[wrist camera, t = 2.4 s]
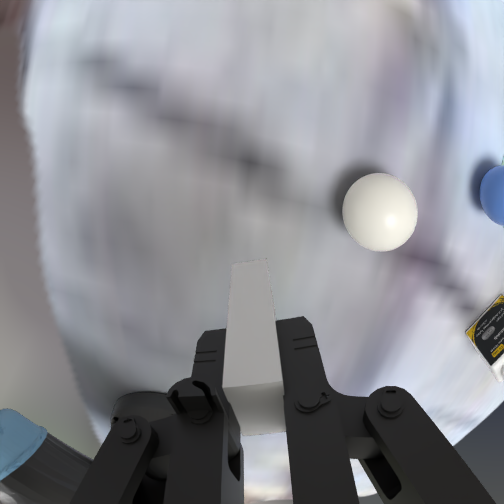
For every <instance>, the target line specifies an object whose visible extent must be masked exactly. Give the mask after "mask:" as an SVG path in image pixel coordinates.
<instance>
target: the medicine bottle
mask: <svg viewBox="0 0 504 504" xmlns="http://www.w3.org/2000/svg"><path fill="white" fill-rule="evenodd" d="M466 335H467V336H468V338H469V340H470V341H471V343H472V344H473V346H474V348H475V349H476V351H477V353H478V354H479V355H480V357H481V358H482V359H483V361H484V362H485V364H486V365H487V366H488V368H489V369H490V371H491V372H492V373H493V375H494V376H495V378H496V379H497V381H498V382H502V381H503V380H504V296H503V295H500V296H499V297H498V298H497V299H496V300H495V301H494V302H493V303H492V305H491V306H490V307H489V308H488V309H487V310H486V311H485V312H484V313H483V314H482V315H481V316H480V318H479V319H478V320H477V321H476V322H475V323H474V324H473V325H472V326H471V327H470V328H469V329H468V330H467V331H466Z"/></svg>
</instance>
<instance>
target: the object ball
mask: <svg viewBox="0 0 504 504" xmlns="http://www.w3.org/2000/svg"><path fill="white" fill-rule="evenodd" d="M480 201H481V205H482V207H483V209H484V211H485V213H486V214H487V216H488V217H489V218H490V219H491V220H492V221H493V222H495V223H497V224H499V225H502V226H504V165H501V166H496V167H494V168H492V169H490V170H489V171H488V172H487V173H486V174H485V176H484V177H483V179H482V182H481V185H480Z"/></svg>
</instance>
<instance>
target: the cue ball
mask: <svg viewBox="0 0 504 504" xmlns="http://www.w3.org/2000/svg"><path fill="white" fill-rule="evenodd" d="M342 214H343V220H344V224H345V227H346V229H347V231H348V233H349V234H350V236H351V237H352V238H353V239H354V240H355V241H356V242H357V243H358V244H360V245H361V246H363V247H365V248H367V249H369V250H373V251H389V250H393V249H395V248H397V247H399V246H401V245H402V244H404V243H405V242H406V241H407V240H408V239H409V238H410V236H411V235H412V233H413V231H414V229H415V226H416V223H417V216H418V210H417V204H416V200H415V198H414V195H413V194H412V192H411V190H410V189H409V188H408V186H407V185H406V184H405V183H404V182H403V181H401V180H400V179H398V178H397V177H394V176H392V175H389V174H385V173H373V174H369V175H366V176H364V177H362V178H360V179H358V180H357V181H356V182H355V183H354V184H353V185H352V186H351V187H350V188H349V190H348V192H347V193H346V196H345V198H344V202H343V209H342Z"/></svg>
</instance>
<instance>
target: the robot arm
mask: <svg viewBox="0 0 504 504" xmlns="http://www.w3.org/2000/svg"><path fill="white" fill-rule="evenodd" d="M240 431H241V433H242V435H243V436H250V435H261V434H270V433H279V432H286V434H287V444H288V453H289V463H290V473H291V484H292V494H293V504H359V500H358V495H357V490H356V486H355V481H354V476H353V472H352V467H351V463H350V458H351V459H358V460H359V462H360V464H361V465H362V467H363V469H364V470H365V472H366V474H367V476H368V477H369V479H370V481H371V482H372V484H373V486H374V487H375V489H376V491H377V493H378V494H379V496H380V498H381V499H382V501H383V503H384V504H496V503H495V502H494V500H493V499H492V497H491V496H490V495H489V493H488V492H487V491H486V489H485V488H484V487H483V485H482V484H481V483H480V481H479V480H478V479H477V477H476V476H475V475H474V474H473V473H472V471H471V469H470V468H469V467H468V466H467V464H466V463H465V462H464V460H463V459H462V458H461V456H460V455H459V454H458V453H457V451H456V450H455V449H454V448H453V446H452V445H451V444H450V442H449V441H448V440H447V439H446V437H445V436H444V435H443V434H442V432H441V431H440V430H439V429H438V427H437V426H436V425H435V424H434V422H433V421H432V420H431V419H430V417H429V416H428V415H427V414H426V412H425V411H424V410H423V409H422V407H421V406H420V405H419V404H418V403H417V401H416V400H415V399H414V398H413V396H412V395H411V394H410V393H409V392H407V391H406V390H405V389H403V388H400V387H397V386H385V387H382V388H379V389H377V390H376V391H374V392H373V393H372V394H370V396H369V397H356V396H347V395H343V394H341V393H338V392H337V391H335V390H334V389H333V388H332V387H331V386H330V385H329V383H328V381H327V378H326V375H325V371H324V367H323V363H322V359H321V356H320V352H319V348H318V345H317V341H316V338H315V334H314V330H313V326H312V324H311V323H310V322H309V321H308V320H307V319H306V318H305V317H304V316H302V317H296V318H290V319H284V320H278V321H276V314H275V307H274V301H273V295H272V288H271V282H270V276H269V270H268V264H267V258H265V259H259V260H252V261H246V262H240V263H233V264H232V268H231V280H230V292H229V304H228V316H227V329H219V330H210V331H205V332H204V333H203V334H202V336H201V337H200V339H199V340H198V342H197V347H196V355H195V359H194V364H193V370H192V376H191V377H190V378H185V379H183V380H181V381H179V382H177V383H175V384H174V385H173V386H172V387H171V388H170V389H169V391H168V393H167V395H166V394H160V393H150V392H140V393H132V394H128V395H125V396H123V397H121V398H120V399H118V401H117V402H116V404H115V406H114V409H113V412H112V415H111V430H110V432H109V434H108V435H107V437H106V439H105V441H104V442H103V444H102V446H101V448H100V449H99V451H98V453H97V455H96V456H95V458H94V460H93V459H91V458H89V457H87V456H86V455H84V454H82V453H80V452H79V451H77V450H75V449H73V448H72V447H70V446H68V445H67V444H65V443H63V442H62V441H60V440H59V439H57V438H55V437H54V436H52V435H51V434H49V433H48V432H47V430H46V429H45V428H44V427H42V426H38V425H36V424H34V423H33V422H31V421H30V420H28V419H27V418H25V417H24V416H23V415H21V414H20V413H18V412H17V411H14V410H12V409H2V410H0V504H244V454H243V448H242V445H241V443H240Z"/></svg>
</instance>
